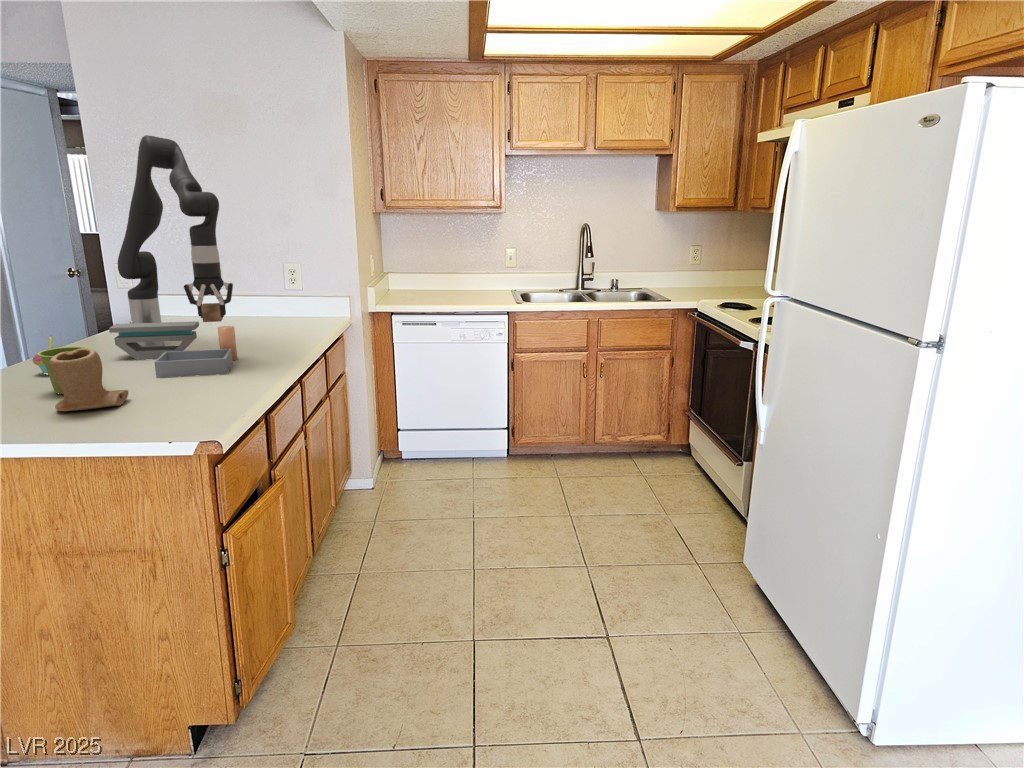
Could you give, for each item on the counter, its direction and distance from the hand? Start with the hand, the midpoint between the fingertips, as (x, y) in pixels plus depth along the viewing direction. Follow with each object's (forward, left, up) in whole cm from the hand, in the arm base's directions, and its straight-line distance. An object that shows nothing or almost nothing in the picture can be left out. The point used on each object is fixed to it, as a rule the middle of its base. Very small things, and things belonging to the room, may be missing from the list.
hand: (212, 317), depth 199 cm
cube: (0, 0, -1) cm, 1 cm away
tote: (-6, -2, -16) cm, 17 cm away
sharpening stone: (-21, +21, -16) cm, 34 cm away
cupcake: (-46, +3, -16) cm, 49 cm away
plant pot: (-34, -20, -16) cm, 42 cm away
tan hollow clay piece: (-24, -38, -16) cm, 47 cm away
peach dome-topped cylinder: (+2, +10, -16) cm, 19 cm away
